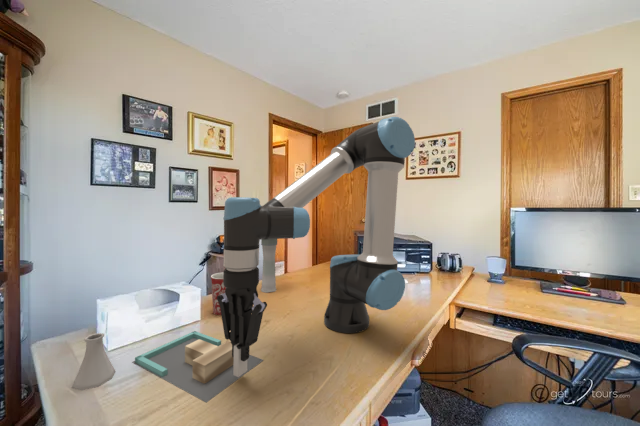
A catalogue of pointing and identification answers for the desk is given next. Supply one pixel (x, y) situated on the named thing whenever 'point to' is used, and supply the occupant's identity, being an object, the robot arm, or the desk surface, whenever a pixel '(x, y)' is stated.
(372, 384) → the desk surface
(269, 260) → the container
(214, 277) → the mug
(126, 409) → the desk surface
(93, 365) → the flask
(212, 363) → the tee block
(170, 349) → the mat
